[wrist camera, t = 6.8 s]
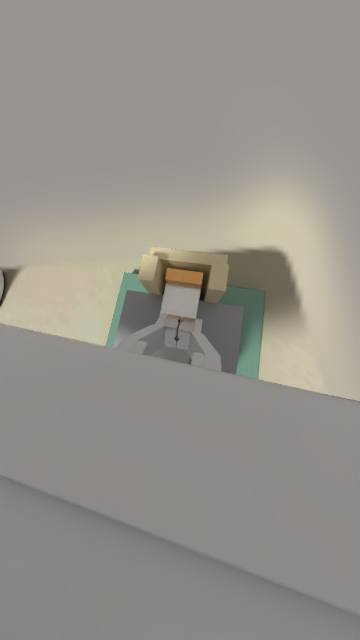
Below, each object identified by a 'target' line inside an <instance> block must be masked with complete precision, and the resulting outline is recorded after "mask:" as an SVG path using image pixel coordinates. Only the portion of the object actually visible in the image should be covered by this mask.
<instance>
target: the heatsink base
mask: <svg viewBox="0 0 360 640" xmlns="http://www.w3.org/2000/svg"><path fill="white" fill-rule="evenodd" d="M227 261H228V255H222V254H213V253H204V252H194V251H185V250H176V249H175V250H174V249H166V248H157V247H151V248H150V253H149V255H143V257H142V261H141V266H140V270H139V274H133V273H125V272H124V276H123V279H122V283H121V287H120V291H119V295H118V299H117V303H116V307H115V311H114V315H113V319H112V323H111V327H110V331H109V335H108V339H107V343H106V346H107V347H111V348H116V347H117V346H118V345H119V343H120V342H121V341H122V340H123V338H124V337H126V336H128V335H130V334H132V333H135V332H137V331H139V330H141V329H144V328H146V327H148V326H150V325H152V324H154V325H155V323H156V322H157V320H158V318H159V316H160V311H161V306H162V301H163V296H164V291H165V286H166V281H165V277H166V272H167V268H170V269H179V270H187V271H195V272H203V279H202V285H201V291H200V297H199V303H198V309H197V315H196V319H202V320H203V322H202V330H201V333H202V334H204V336H205V337H206V338H207V339H208V341H209V342H210V343H211V345H212V346H213V347H214V349H215V350H216V351H217V353H218V354H219V355H220V356H221V371H222V372H226V373H231V374H236V375H240V376H245V377H250V378H254V379H257V377H258V366H259V356H260V345H261V334H262V323H263V312H264V302H265V291H262V290H254V289H247V288H239V287H231V286H227V279H228V272H229V264H227ZM191 362H192V360H191V358H189V364H190V365H191Z"/></svg>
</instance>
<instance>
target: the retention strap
mask: <svg viewBox="0 0 360 640" xmlns="http://www.w3.org/2000/svg"><path fill="white" fill-rule="evenodd" d="M202 279H203V272H195V271H187V270H179V269H170V268H167V272H166V277H165V281H166V286H165V291H164V296H163V301H162V306H161V311H160V315H161V313H167V314H172V315H177V316H182V317H188V318H194V319H195V320H196V315H197V309H198V303H199V297H200V291H201V285H202ZM159 317H160V316H159ZM152 356H153V357H157V358H162V359H167V360H171V361H176V362H181V363H185V364H189V358H190V355H189V353H188V351H187V350H183V349H178V348H177V344H176V347H175V348H173V347H168V346H164V347H163V348H161V349H160V350H159V351H158V352H156V353H155V354H154V355H152Z"/></svg>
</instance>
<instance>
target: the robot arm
mask: <svg viewBox="0 0 360 640" xmlns="http://www.w3.org/2000/svg"><path fill="white" fill-rule="evenodd" d="M3 287H4V278H3V273H2V270H1V268H0V299H1V296H2V293H3ZM202 322H203V320H202V319H196V320H195V319H194V318H188V317H182V316H177V315H172V314H167V313H161V315H160V317H159V318H158V320H157V322H156V323H155V325H154V324H152V325H150V326H148V327H146V328H144V329H141V330H139V331H137V332H135V333H132V334H130V335H128V336H126V337H124V338H123V340H122V341H121V342H120V343H119V345H118V346H117V347H116V348H111V347H107V346H102V345H97V344H93V343H88V342H84V341H79V340H74V339H70V338H65V337H61V336H56V335H52V334H47V333H42V332H38V331H33V330H29V329H24V328H19V327H15V326H10V325H6V324H1V323H0V640H360V401H356V400H351V399H346V398H341V397H337V396H332V395H328V394H323V393H319V392H314V391H309V390H305V389H300V388H296V387H291V386H286V385H282V384H277V383H273V382H268V381H263V380H259V379H254V378H250V377H245V376H240V375H236V374H231V373H226V372H222V371H221V356H220V355H219V354H218V353H217V351H216V350H215V349H214V347H213V346H212V345H211V343H210V342H209V341H208V339H207V338H206V337H205V336H204V334H202V333H201V330H202ZM176 344H177V348H178V349H183V350H187V351H188V353H189V355H190V358H191V360H192V362H191V365H190V364H185V363H181V362H176V361H171V360H167V359H162V358H157V357H153V356H152V355H154V354H155V353H156V352H158V351H159V350H160V349H161V348H163V347H164V346H168V347H173V348H175V347H176Z"/></svg>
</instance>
